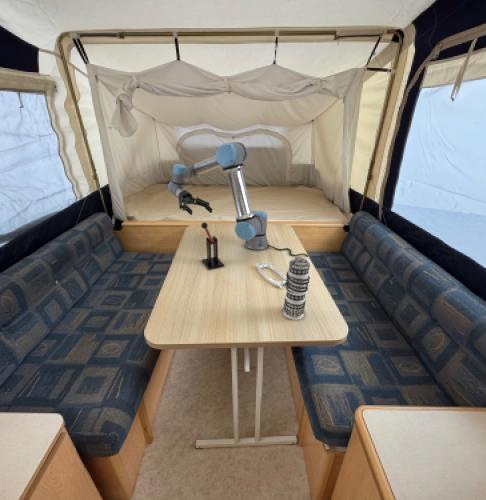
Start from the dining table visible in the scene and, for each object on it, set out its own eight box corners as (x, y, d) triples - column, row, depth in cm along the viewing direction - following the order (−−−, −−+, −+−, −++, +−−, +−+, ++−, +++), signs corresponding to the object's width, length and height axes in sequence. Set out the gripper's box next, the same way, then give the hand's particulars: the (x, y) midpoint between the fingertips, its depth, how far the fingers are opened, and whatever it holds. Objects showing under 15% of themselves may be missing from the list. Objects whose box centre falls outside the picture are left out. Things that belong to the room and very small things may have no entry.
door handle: (267, 263, 152) (293, 285, 131) (252, 267, 148) (276, 290, 127) (267, 259, 150) (293, 280, 130) (252, 263, 147) (276, 285, 126)
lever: (200, 225, 153) (200, 221, 150) (205, 225, 154) (206, 220, 152) (209, 245, 145) (210, 241, 142) (215, 244, 146) (216, 240, 144)
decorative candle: (278, 314, 111) (283, 261, 100) (287, 303, 118) (293, 253, 107) (299, 323, 106) (307, 268, 95) (307, 311, 113) (315, 258, 102)
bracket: (201, 261, 154) (200, 236, 147) (216, 258, 157) (215, 233, 151) (208, 269, 145) (207, 243, 138) (223, 266, 148) (223, 240, 142)
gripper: (200, 200, 175) (217, 215, 163) (164, 202, 159) (181, 219, 147) (202, 189, 171) (220, 204, 159) (166, 190, 155) (183, 207, 143)
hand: (201, 212), depth 153 cm, fingers open, 13 cm apart
